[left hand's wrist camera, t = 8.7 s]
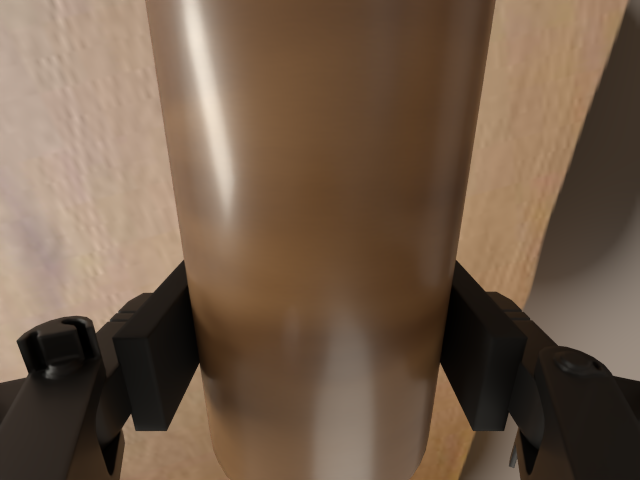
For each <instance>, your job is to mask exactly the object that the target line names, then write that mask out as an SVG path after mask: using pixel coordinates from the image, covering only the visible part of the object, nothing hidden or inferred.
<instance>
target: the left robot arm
mask: <svg viewBox="0 0 640 480" xmlns="http://www.w3.org/2000/svg"><path fill="white" fill-rule="evenodd" d="M17 344H18V346H19V349H20V352H21V354H22V357H23V360H24V362H25V365H26V368H27V370H28V373H29V374H28V376H27V378H22V379H18V380H13V381H8V382H3V383H0V480H120V473H121V466H122V459H123V452H124V445H125V441H124V435H123V431H122V427H123V425H124V424H125V422H126V421H127V419H128V417H129V416H130V414H132V418H133V422H134V426H135V430H136V431H167V429H168V427H169V425H170V423H171V421H172V419H173V417H174V415H175V413H176V411H177V408H178V406H179V404H180V402H181V400H182V398H183V396H184V394H185V392H186V390H187V388H188V386H189V383H190V381H191V379H192V377H193V375H194V373H195V371H196V369H197V367H198V365H199V363H200V362H199V355H198V348H197V342H196V335H195V328H194V322H193V315H192V308H191V302H190V295H189V288H188V282H187V275H186V268H185V262H184V260H183V261H182V262H181V263H180V264H179V266H178V267H177V268H176V269H175V270H174V271H173V272H172V273H171V274H170V275H169V276H168V277H167V279H166V280H165V281H164V282H163V283H162V284H161V285H160V286H159V287H158V288H157V289H156V290H155V292H154V293H143V294H141V295H139V296H137V297H135V298H134V299H132V300H130V301H128V302H127V303H126V304H125V305H124V306H123V307H122V308H121V309H120V310H119V311H118V313H116V314H115V315H114V316H113V317H112V318H111V319H110V322H107V323H106V324H105V325H104V326H103V327H102V328H101V329H100V330H99V331H98V332H97V333H95V329H94V326H93V322H92V320H90V319H89V318H87V317H82V316H70V317H63V318H59V319H55V320H51V321H48V322H46V323H43V324H41V325H38V326H36V327H34V328H32V329H31V330H29V331H27V332H26V333H24V334H23V335H22V336H21V337H20V338H19V339H18V340H17ZM440 363H441V365H442V367H443V369H444V371H445V374H446V376H447V378H448V380H449V382H450V384H451V386H452V388H453V390H454V392H455V394H456V396H457V399H458V401H459V403H460V405H461V407H462V409H463V411H464V413H465V415H466V417H467V419H468V421H469V423H470V426H471V428H472V430H473V431H504V429H505V425H506V421H507V417H508V413H510V414H511V416H512V418H513V419H514V421H515V422H516V424H517V425H518V431H517V435H516V438H515V442H514V446H513V449H512V453H511V457H510V462H509V466H510V467H513V468H514V466H515V463H516V460H517V459H518V465H519V472H520V478H521V480H640V381H635V380H630V379H626V378H621V377H616V376H613V375H612V373H611V372H610V371H609V370H608V369H607V367H606V366H605V365H604V364H602V363H601V362H600V361H598V360H597V359H595V358H594V357H592V356H590V355H588V354H586V353H583V352H581V351H579V350H575V349H572V348H569V347H563V346H558V345H557V344H556V343H555V342H554V341H553V340H552V339H551V338H550V337H549V336H548V335H547V334H545V333H544V332H543V331H542V330H541V329H540V328H539V327H538V326H537V325H536V324H535V323H534V322H533V321H532V320H530V318H529V317H528V316H527V315H526V314H525V313H524V312H522V310H521V309H520V308H519V307H518V306H517V305H516V304H515V303H514V302H513V301H512V300H510V299H509V298H507V297H505V296H503V295H501V294H500V293H498V292H485V291H484V290H483V289H482V287H481V286H480V285H479V284H478V283H477V282H476V281H475V280H474V279H473V278H472V277H471V275H470V274H469V273H468V272H467V271H466V270H465V269H464V268H463V267H462V266H461V265H460V264H459V262H458V261H457V260H456V261H455V268H454V274H453V281H452V287H451V294H450V300H449V307H448V313H447V320H446V326H445V333H444V339H443V346H442V352H441V359H440Z"/></svg>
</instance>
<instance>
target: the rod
mask: <svg viewBox="0 0 640 480" xmlns="http://www.w3.org/2000/svg"><path fill="white" fill-rule="evenodd" d="M495 1H496V0H145V2H146V8H147V15H148V22H149V28H150V35H151V42H152V48H153V55H154V62H155V68H156V75H157V82H158V88H159V95H160V102H161V108H162V115H163V122H164V128H165V135H166V142H167V148H168V155H169V162H170V168H171V175H172V182H173V188H174V195H175V202H176V208H177V215H178V222H179V228H180V235H181V242H182V248H183V255H184V262H185V268H186V275H187V282H188V288H189V295H190V302H191V308H192V315H193V322H194V328H195V335H196V342H197V348H198V355H199V362H200V368H201V375H202V382H203V388H204V395H205V402H206V408H207V415H208V422H209V428H210V435H211V440H212V445H213V450H214V452H215V455H216V457H217V460H218V462H219V464H220V466H221V467H222V469H223V470H224V472H225V474H226V475H227V476H228V478H229V479H230V480H409V479H410V478H411V477H412V476H413V474H414V472H415V471H416V469H417V468H418V466H419V465H420V463H421V460H422V458H423V455H424V453H425V450H426V446H427V441H428V437H429V430H430V424H431V417H432V411H433V404H434V398H435V391H436V385H437V378H438V372H439V365H440V359H441V352H442V346H443V339H444V333H445V326H446V320H447V313H448V307H449V300H450V294H451V287H452V281H453V274H454V268H455V261H456V255H457V248H458V242H459V235H460V229H461V222H462V216H463V209H464V203H465V196H466V190H467V183H468V177H469V170H470V164H471V157H472V151H473V144H474V138H475V131H476V125H477V118H478V112H479V105H480V99H481V92H482V86H483V79H484V73H485V66H486V60H487V53H488V47H489V40H490V34H491V27H492V21H493V14H494V8H495Z"/></svg>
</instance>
